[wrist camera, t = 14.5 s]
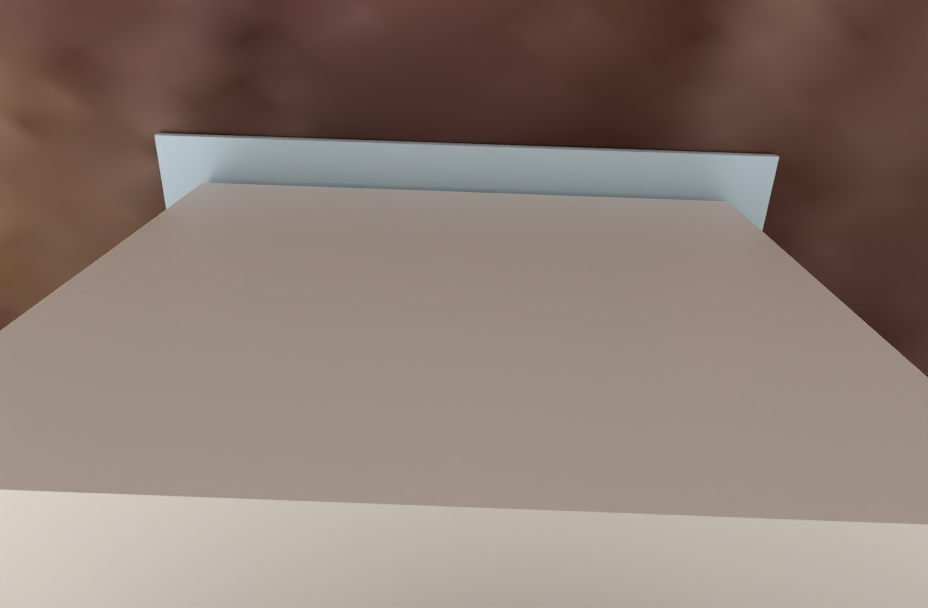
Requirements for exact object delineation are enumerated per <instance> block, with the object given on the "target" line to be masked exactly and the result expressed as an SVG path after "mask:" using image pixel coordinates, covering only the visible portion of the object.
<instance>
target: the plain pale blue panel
mask: <svg viewBox="0 0 928 608" xmlns="http://www.w3.org/2000/svg"><path fill="white" fill-rule="evenodd" d="M154 136H155V142H156V149H157V155H158V161H159V167H160V173H161V180H162V186H163V192H164V198H165V205H166V209H167V208H169V207H170V206H171V205H173V204H174V203H175V202H177V201H178V200H180V199H181V198H182V197H184V196H185V195H186V194H188V193H189V192H191V191H192V190H193V189H195V188H196V187H197V186H199V185H200V184H201V183H229V184H257V185H285V186H313V187H340V188H368V189H396V190H424V191H452V192H480V193H508V194H535V195H563V196H591V197H619V198H647V199H675V200H703V201H729V202H730V203H731V204H732V205H733V206H734V207H735V208H736V209H738V210H739V211H740V212H741V213H742V214H743V215H744V216H746V217H747V218H748V219H749V220H750V221H751V222H752V223H753V224H755V225H756V226H757V227H758V228H759V229H760V230H761V231H762V230H763V226H764V221H765V217H766V213H767V208H768V204H769V199H770V195H771V191H772V186H773V182H774V177H775V173H776V169H777V164H778V160H779V156H777V155H775V154H752V153H723V152H694V151H665V150H636V149H607V148H579V147H550V146H521V145H492V144H463V143H434V142H405V141H376V140H347V139H318V138H289V137H261V136H232V135H203V134H174V133H158V134H156V135H154Z"/></svg>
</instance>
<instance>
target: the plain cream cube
mask: <svg viewBox="0 0 928 608" xmlns="http://www.w3.org/2000/svg"><path fill="white" fill-rule="evenodd" d="M0 608H928V377H927V376H925V375H924V374H923V373H922V372H921V371H920V370H919V369H918V368H916V367H915V366H914V365H913V364H912V363H911V362H910V361H908V360H907V359H906V358H905V357H904V356H903V355H902V354H901V353H899V352H898V351H897V350H896V349H895V348H894V347H893V346H891V345H890V344H889V343H888V342H887V341H886V340H885V339H884V338H882V337H881V336H880V335H879V334H878V333H877V332H876V331H875V330H873V329H872V328H871V327H870V326H869V325H868V324H867V323H865V322H864V321H863V320H862V319H861V318H860V317H859V316H858V315H856V314H855V313H854V312H853V311H852V310H851V309H850V308H848V307H847V306H846V305H845V304H844V303H843V302H842V301H841V300H839V299H838V298H837V297H836V296H835V295H834V294H833V293H832V292H830V291H829V290H828V289H827V288H826V287H825V286H824V285H822V284H821V283H820V282H819V281H818V280H817V279H816V278H815V277H813V276H812V275H811V274H810V273H809V272H808V271H807V270H806V269H804V268H803V267H802V266H801V265H800V264H799V263H798V262H796V261H795V260H794V259H793V258H792V257H791V256H790V255H789V254H787V253H786V252H785V251H784V250H783V249H782V248H781V247H779V246H778V245H777V244H776V243H775V242H774V241H773V240H772V239H770V238H769V237H768V236H767V235H766V234H765V233H764V232H763V231H761V230H760V229H759V228H758V227H757V226H756V225H755V224H753V223H752V222H751V221H750V220H749V219H748V218H747V217H746V216H744V215H743V214H742V213H741V212H740V211H739V210H738V209H736V208H735V207H734V206H733V205H732V204H731V203H730V202H729V201H703V200H675V199H647V198H619V197H591V196H563V195H535V194H508V193H480V192H452V191H424V190H396V189H368V188H340V187H313V186H285V185H257V184H229V183H201V184H200V185H199V186H197V187H196V188H195V189H193V190H192V191H191V192H189V193H188V194H186V195H185V196H184V197H182V198H181V199H180V200H178V201H177V202H175V203H174V204H173V205H171V206H170V207H169V208H167V209H166V210H165V211H163V212H162V213H160V214H159V215H158V216H156V217H155V218H154V219H152V220H151V221H150V222H148V223H147V224H145V225H144V226H143V227H141V228H140V229H139V230H137V231H136V232H134V233H133V234H132V235H130V236H129V237H128V238H126V239H125V240H124V241H122V242H121V243H119V244H118V245H117V246H115V247H114V248H113V249H111V250H110V251H108V252H107V253H106V254H104V255H103V256H102V257H100V258H99V259H98V260H96V261H95V262H93V263H92V264H91V265H89V266H88V267H87V268H85V269H84V270H83V271H81V272H80V273H78V274H77V275H76V276H74V277H73V278H72V279H70V280H69V281H67V282H66V283H65V284H63V285H62V286H61V287H59V288H58V289H57V290H55V291H54V292H52V293H51V294H50V295H48V296H47V297H46V298H44V299H43V300H42V301H40V302H39V303H37V304H36V305H35V306H33V307H32V308H31V309H29V310H28V311H26V312H25V313H24V314H22V315H21V316H20V317H18V318H17V319H16V320H14V321H13V322H11V323H10V324H9V325H7V326H6V327H5V328H3V329H2V330H1V331H0Z"/></svg>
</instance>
